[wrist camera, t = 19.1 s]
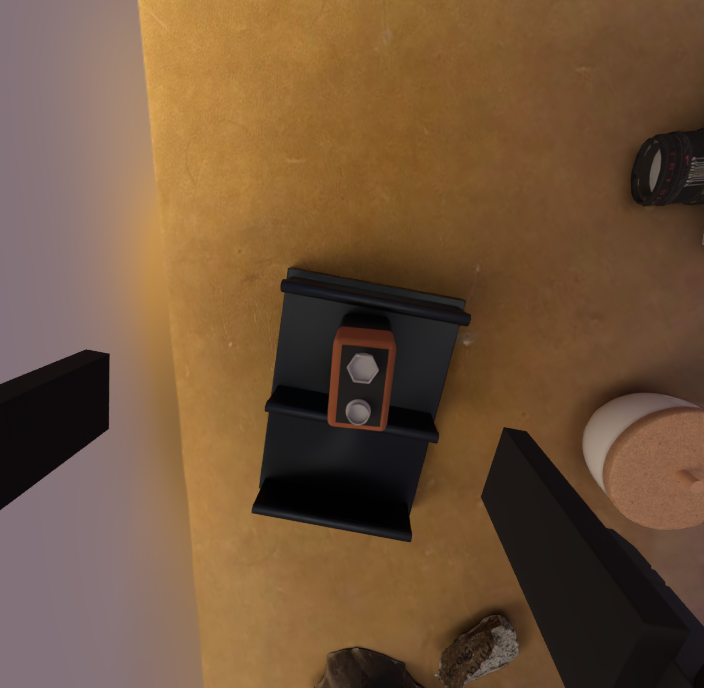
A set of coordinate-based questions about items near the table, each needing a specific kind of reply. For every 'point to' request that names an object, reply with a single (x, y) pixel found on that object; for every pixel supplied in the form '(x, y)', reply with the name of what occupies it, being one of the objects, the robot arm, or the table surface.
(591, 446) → the trinket box
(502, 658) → the rock sample
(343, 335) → the battery
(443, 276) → the table surface
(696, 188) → the camera
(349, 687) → the mineral specimen
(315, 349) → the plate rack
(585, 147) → the table surface
